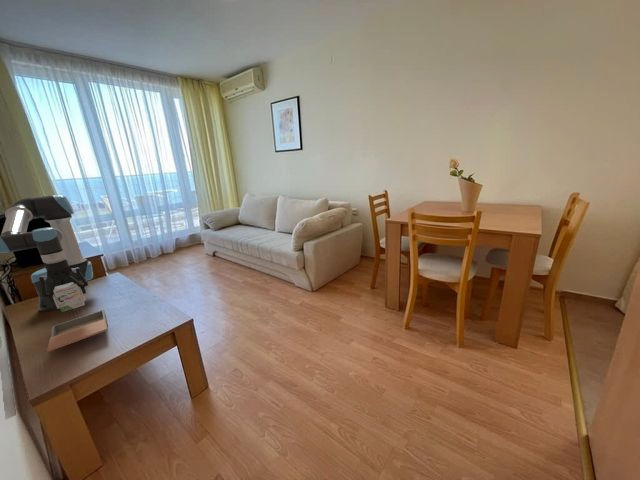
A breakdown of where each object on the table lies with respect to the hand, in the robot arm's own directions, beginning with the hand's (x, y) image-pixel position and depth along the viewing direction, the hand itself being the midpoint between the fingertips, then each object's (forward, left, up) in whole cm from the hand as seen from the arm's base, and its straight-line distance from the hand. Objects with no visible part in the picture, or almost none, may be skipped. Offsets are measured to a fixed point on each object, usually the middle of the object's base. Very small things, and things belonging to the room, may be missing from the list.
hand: (71, 303), depth 125 cm
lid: (+13, 0, -10) cm, 17 cm away
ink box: (0, 0, -2) cm, 2 cm away
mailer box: (0, 0, -15) cm, 15 cm away
